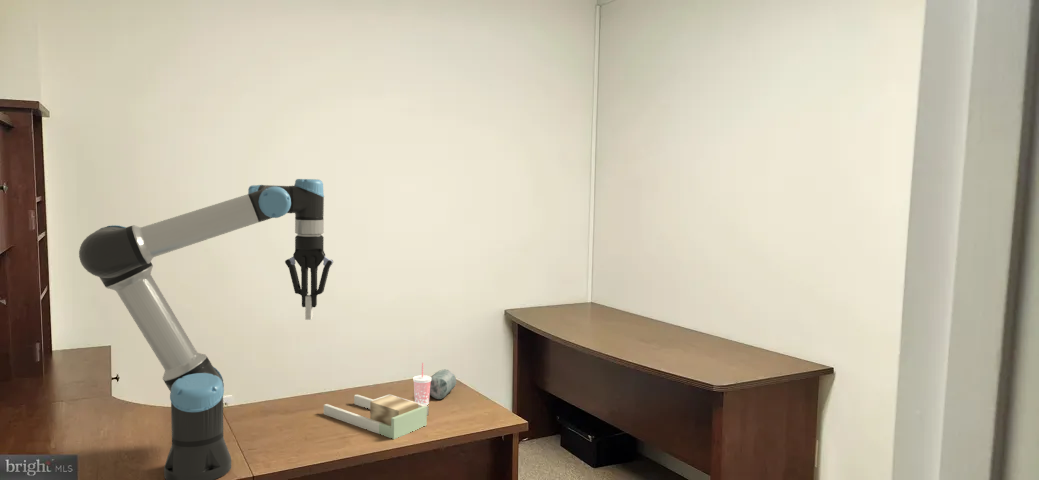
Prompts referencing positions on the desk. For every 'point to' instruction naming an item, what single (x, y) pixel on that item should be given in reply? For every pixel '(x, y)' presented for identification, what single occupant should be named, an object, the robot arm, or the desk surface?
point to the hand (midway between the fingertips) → (309, 318)
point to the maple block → (389, 408)
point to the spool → (442, 383)
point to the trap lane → (398, 423)
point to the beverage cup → (422, 388)
